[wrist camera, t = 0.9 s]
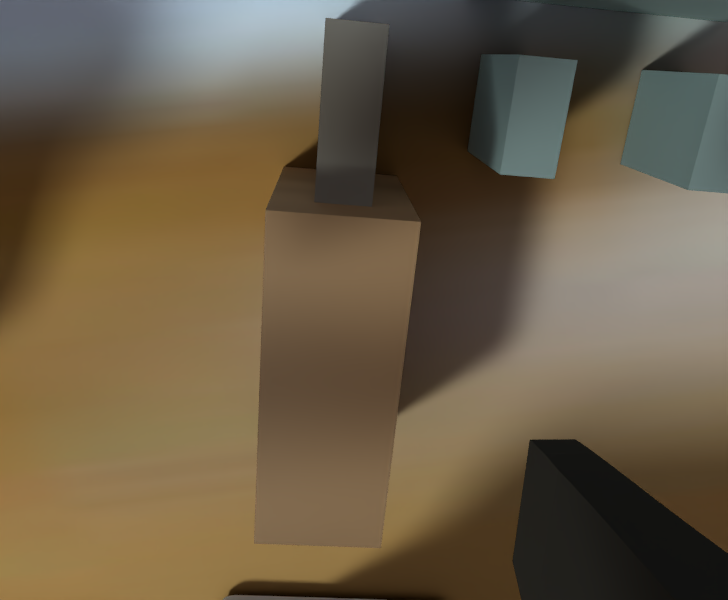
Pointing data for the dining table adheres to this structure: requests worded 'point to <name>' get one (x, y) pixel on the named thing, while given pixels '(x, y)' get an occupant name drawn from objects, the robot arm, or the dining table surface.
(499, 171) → the grey boxy pieces
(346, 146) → the rail
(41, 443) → the dining table surface
